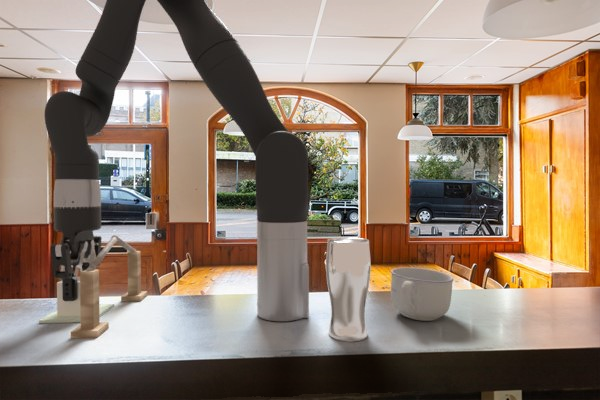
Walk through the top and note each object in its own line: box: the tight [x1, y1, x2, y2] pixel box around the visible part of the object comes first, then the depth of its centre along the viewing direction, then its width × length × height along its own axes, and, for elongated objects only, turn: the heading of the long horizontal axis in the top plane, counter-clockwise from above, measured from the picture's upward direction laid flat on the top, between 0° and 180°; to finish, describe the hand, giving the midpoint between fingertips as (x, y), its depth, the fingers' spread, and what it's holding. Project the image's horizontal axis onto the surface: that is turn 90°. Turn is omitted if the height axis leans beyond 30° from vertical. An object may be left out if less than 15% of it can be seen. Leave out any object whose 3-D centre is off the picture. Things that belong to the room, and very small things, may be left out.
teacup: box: [390, 267, 454, 322], centre depth 68 cm, size 14×11×8 cm
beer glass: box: [325, 237, 372, 343], centre depth 60 cm, size 7×7×15 cm
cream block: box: [56, 276, 81, 316], centre depth 70 cm, size 5×5×6 cm
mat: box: [38, 303, 115, 324], centre depth 70 cm, size 9×9×1 cm
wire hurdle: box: [70, 234, 148, 339], centre depth 71 cm, size 4×24×15 cm, turn 5°
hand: (79, 295), depth 70 cm, fingers open, 5 cm apart
